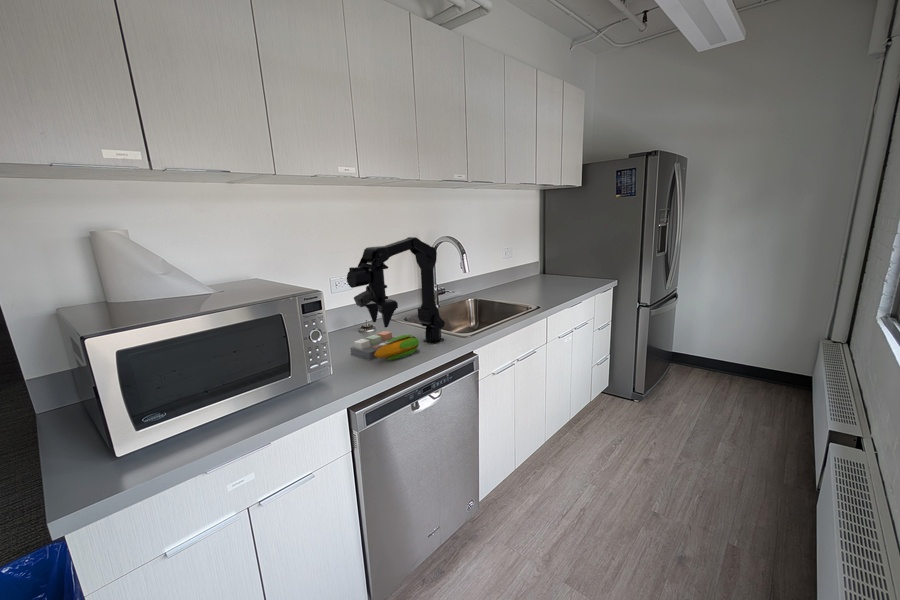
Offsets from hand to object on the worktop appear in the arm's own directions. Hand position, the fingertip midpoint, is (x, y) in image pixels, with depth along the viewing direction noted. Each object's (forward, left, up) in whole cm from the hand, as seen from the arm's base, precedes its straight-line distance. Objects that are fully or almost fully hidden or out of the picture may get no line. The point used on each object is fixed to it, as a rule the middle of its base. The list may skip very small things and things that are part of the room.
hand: (380, 324), depth 147 cm
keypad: (-6, -9, -14) cm, 17 cm away
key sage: (-6, -11, -12) cm, 17 cm away
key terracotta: (-12, -11, -12) cm, 20 cm away
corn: (-5, +3, -14) cm, 15 cm away
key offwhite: (0, -11, -12) cm, 16 cm away
